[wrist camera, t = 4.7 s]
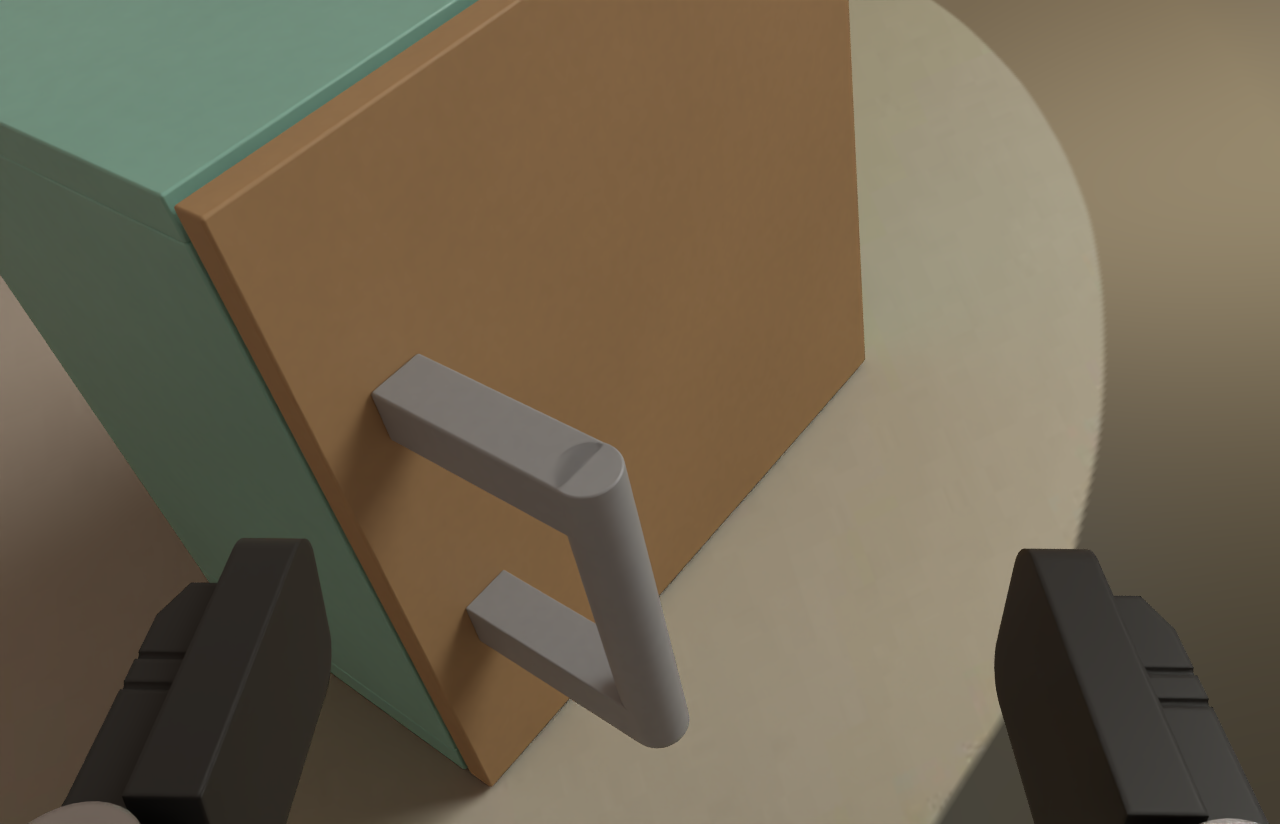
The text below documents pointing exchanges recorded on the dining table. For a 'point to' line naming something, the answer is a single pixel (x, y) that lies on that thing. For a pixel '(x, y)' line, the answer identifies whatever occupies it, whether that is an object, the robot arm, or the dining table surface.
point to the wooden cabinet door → (552, 325)
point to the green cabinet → (187, 262)
